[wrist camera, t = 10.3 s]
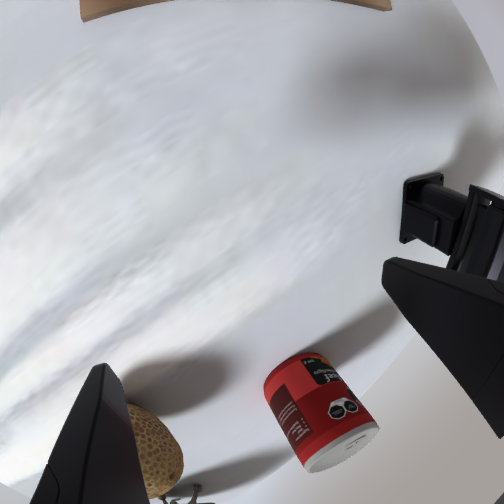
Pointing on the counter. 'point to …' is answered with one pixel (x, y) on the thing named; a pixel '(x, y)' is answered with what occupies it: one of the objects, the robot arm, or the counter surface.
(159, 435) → the natural sponge
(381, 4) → the onion holder
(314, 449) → the canned food
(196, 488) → the tabletop clock
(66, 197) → the counter surface
